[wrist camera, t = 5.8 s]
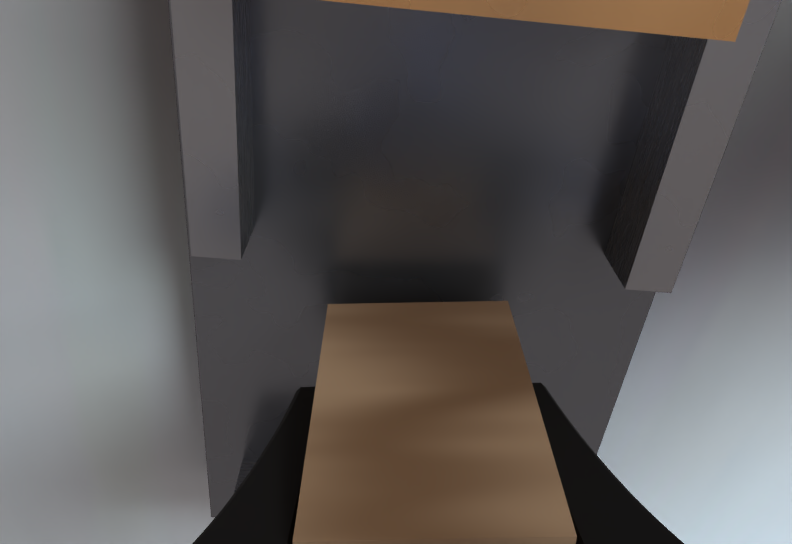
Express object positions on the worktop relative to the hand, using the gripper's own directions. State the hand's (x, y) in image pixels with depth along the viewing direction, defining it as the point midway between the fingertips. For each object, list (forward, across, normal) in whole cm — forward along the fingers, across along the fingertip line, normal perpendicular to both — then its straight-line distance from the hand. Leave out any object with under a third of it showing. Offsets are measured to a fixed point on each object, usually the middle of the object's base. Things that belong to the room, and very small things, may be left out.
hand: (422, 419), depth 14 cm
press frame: (+4, 0, -2) cm, 5 cm away
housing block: (+2, 0, 0) cm, 2 cm away
